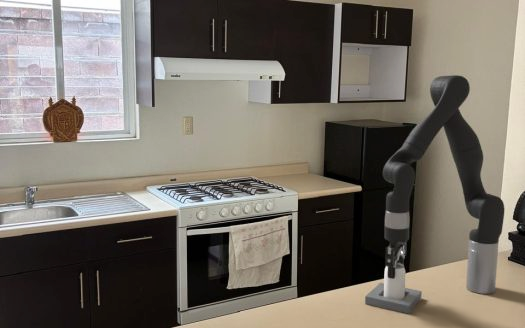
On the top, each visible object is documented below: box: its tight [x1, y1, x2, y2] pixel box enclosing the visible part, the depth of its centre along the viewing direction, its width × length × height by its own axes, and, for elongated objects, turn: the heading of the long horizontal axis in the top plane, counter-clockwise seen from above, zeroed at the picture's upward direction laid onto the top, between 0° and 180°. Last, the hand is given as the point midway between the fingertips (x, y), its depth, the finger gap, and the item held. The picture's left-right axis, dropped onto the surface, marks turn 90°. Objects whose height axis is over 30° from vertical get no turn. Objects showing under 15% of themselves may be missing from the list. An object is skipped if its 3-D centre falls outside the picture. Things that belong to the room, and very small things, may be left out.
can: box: [383, 263, 406, 300], centre depth 170 cm, size 6×6×12 cm
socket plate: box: [364, 282, 423, 315], centre depth 171 cm, size 14×14×2 cm
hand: (395, 273), depth 170 cm, fingers open, 8 cm apart
